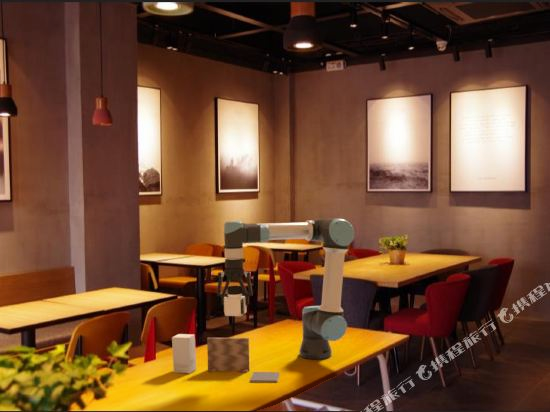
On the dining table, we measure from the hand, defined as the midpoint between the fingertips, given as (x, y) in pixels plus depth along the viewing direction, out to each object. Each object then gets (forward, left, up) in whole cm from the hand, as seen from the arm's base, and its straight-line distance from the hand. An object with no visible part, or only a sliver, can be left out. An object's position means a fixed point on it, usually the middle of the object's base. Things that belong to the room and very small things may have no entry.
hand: (235, 312), depth 249 cm
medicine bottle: (0, 0, -1) cm, 1 cm away
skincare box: (+24, -6, -27) cm, 36 cm away
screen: (+5, -8, -27) cm, 28 cm away
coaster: (-12, +2, -27) cm, 30 cm away
